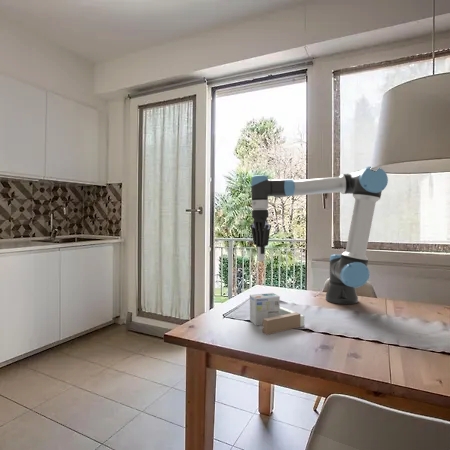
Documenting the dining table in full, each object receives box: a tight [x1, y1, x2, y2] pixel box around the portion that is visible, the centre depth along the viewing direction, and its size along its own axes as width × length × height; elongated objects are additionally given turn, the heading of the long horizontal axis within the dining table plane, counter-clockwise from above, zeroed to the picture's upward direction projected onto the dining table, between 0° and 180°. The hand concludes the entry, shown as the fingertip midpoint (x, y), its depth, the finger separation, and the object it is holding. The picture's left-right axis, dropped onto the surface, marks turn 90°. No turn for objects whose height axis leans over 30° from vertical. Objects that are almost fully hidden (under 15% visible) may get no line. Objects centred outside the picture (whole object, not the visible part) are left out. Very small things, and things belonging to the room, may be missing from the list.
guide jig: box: [262, 305, 305, 335], centre depth 133 cm, size 18×24×5 cm
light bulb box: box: [249, 292, 281, 326], centre depth 132 cm, size 11×7×11 cm, turn 108°
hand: (261, 260), depth 151 cm, fingers closed
